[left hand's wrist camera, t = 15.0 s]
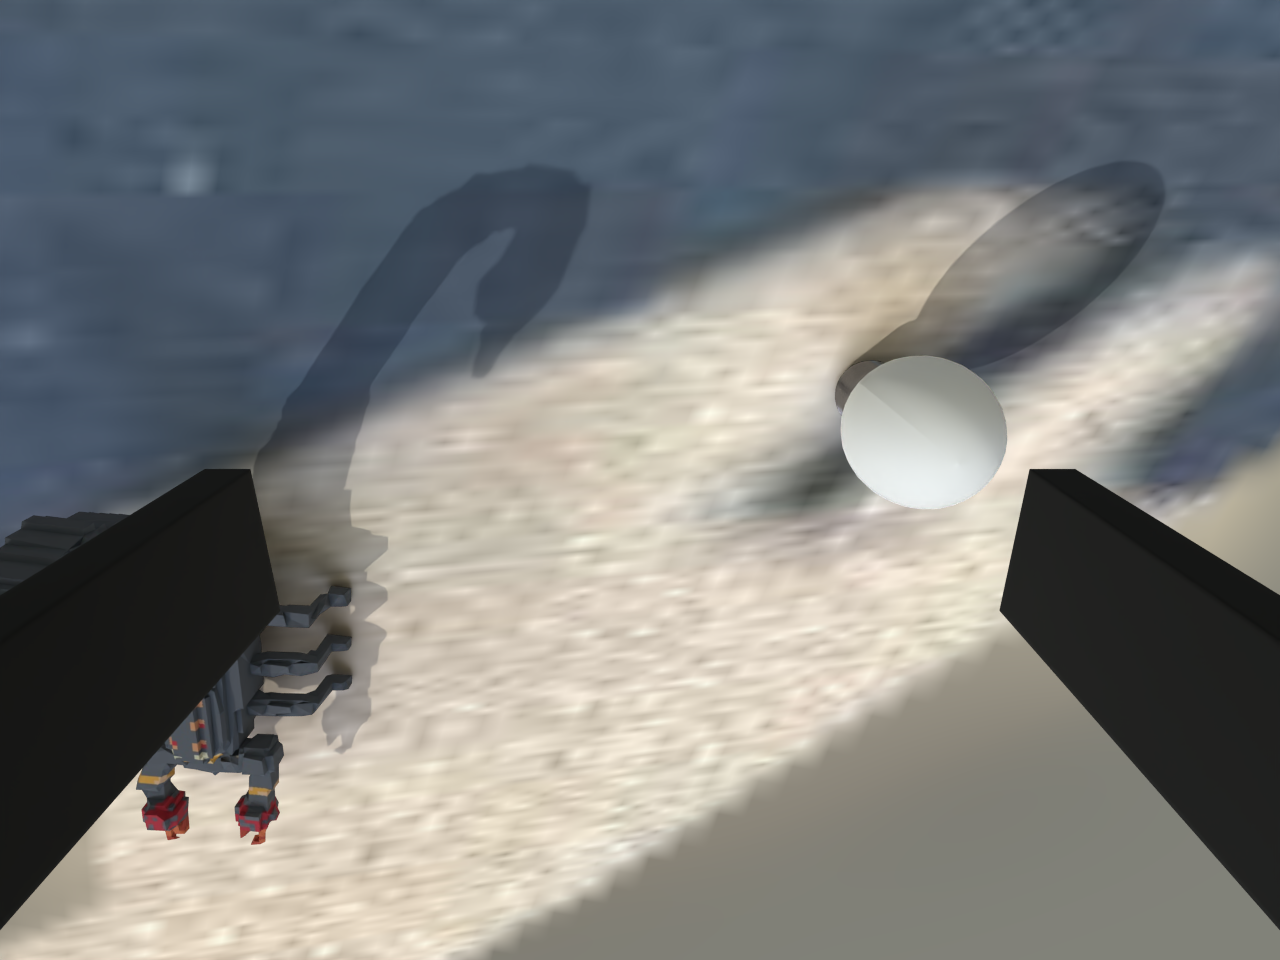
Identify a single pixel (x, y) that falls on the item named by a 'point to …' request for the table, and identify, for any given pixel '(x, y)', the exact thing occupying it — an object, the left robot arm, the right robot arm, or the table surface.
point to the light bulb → (920, 430)
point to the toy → (227, 709)
